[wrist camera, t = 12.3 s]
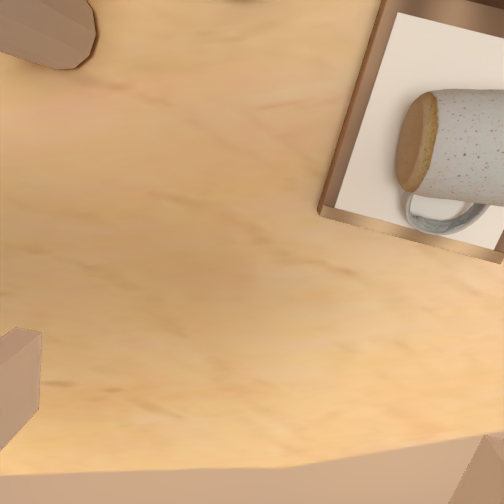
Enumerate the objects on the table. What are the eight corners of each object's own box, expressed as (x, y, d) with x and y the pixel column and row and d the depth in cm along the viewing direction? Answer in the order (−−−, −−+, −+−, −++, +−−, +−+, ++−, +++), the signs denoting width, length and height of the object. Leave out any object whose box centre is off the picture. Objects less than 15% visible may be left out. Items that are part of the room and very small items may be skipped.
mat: (334, 207, 31) (334, 208, 30) (397, 13, 26) (397, 12, 26) (492, 249, 30) (493, 250, 30) (583, 59, 26) (586, 59, 26)
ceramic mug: (400, 94, 27) (440, 77, 20) (511, 98, 27) (595, 82, 19) (379, 227, 31) (406, 254, 23) (477, 233, 30) (538, 263, 23)
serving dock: (317, 209, 34) (321, 219, 29) (387, -19, 28) (407, -53, 23) (480, 253, 33) (512, 270, 29) (585, 30, 28) (647, 6, 23)
